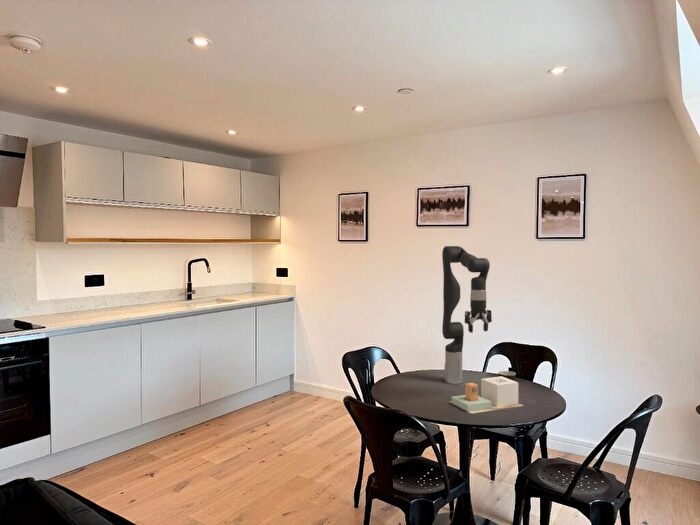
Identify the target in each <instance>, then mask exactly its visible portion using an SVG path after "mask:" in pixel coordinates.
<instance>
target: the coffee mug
mask: <svg viewBox="0 0 700 525" xmlns="http://www.w3.org/2000/svg"><path fill="white" fill-rule="evenodd" d="M497 374H498V375H494V376H493V377H500V376H502V377H505V378H507V379H510V380H513V381H515V382H516V378H517V377H516V374H517V373H516V372H514V371H509V370H502V371H501V370H499V371H498V372H497Z"/></svg>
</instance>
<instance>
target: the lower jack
mask: <svg viewBox="0 0 700 525" xmlns="http://www.w3.org/2000/svg"><path fill="white" fill-rule="evenodd" d="M451 401H452V403H451V404H453V405H454V406H456V407H458V408H460V409H462V410H464V411H465V410H466V412H467V411H468V412H467V413H469V411H476V410H483V409H489V408H492V401H489V400H487V399H485V398H483V397H481V396H480V395H478V401H471V402H470V401H468V400H466V399H465V394H463V395H462V394H461V395H455V396H451Z"/></svg>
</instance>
